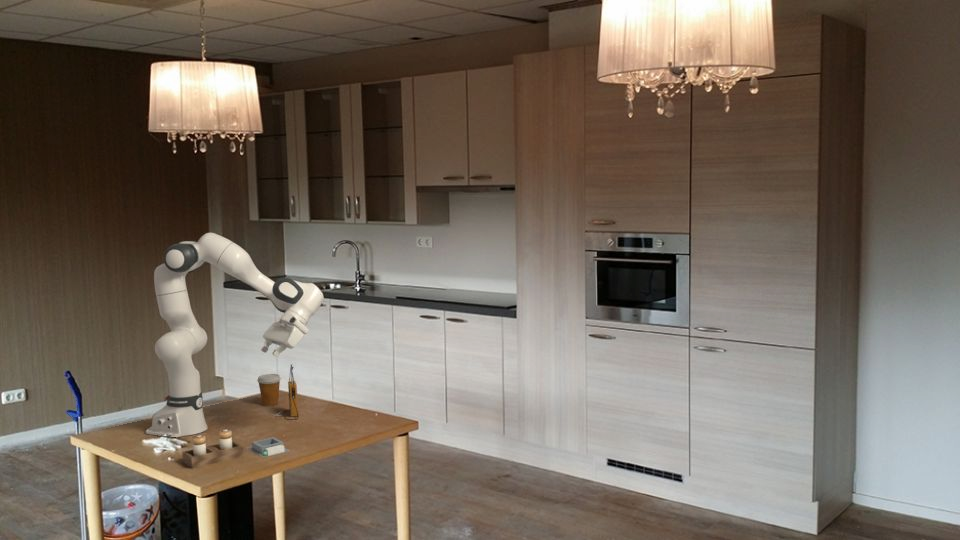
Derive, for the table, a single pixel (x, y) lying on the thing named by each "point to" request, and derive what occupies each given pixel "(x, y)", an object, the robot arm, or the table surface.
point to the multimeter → (292, 397)
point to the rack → (213, 455)
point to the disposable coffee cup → (269, 388)
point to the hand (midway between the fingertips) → (268, 353)
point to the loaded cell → (199, 445)
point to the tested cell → (225, 439)
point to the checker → (268, 447)
